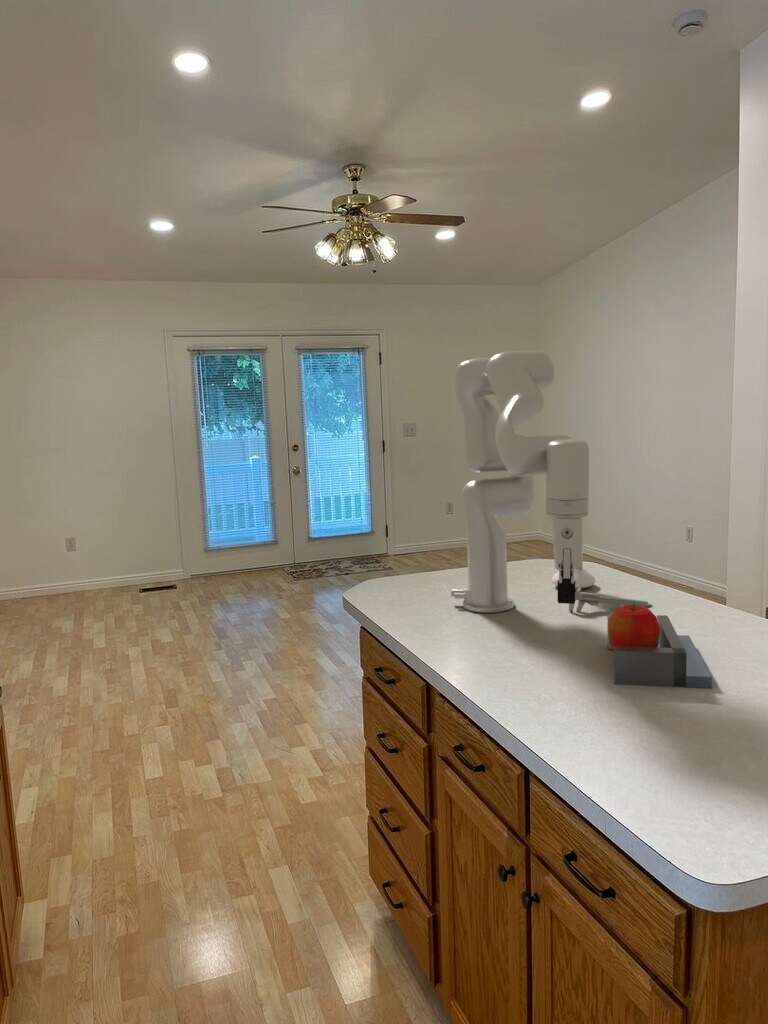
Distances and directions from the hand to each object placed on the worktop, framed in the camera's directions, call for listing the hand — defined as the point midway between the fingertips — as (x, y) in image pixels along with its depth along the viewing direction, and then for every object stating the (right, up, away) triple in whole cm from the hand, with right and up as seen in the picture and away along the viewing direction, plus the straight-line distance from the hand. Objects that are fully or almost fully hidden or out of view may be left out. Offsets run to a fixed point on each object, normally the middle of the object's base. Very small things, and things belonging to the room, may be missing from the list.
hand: (566, 601), depth 133 cm
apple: (+12, -12, -3) cm, 17 cm away
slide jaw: (+15, -10, +6) cm, 19 cm away
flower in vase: (+16, -3, +55) cm, 57 cm away
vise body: (+16, -11, -2) cm, 19 cm away
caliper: (+19, -6, +33) cm, 39 cm away
